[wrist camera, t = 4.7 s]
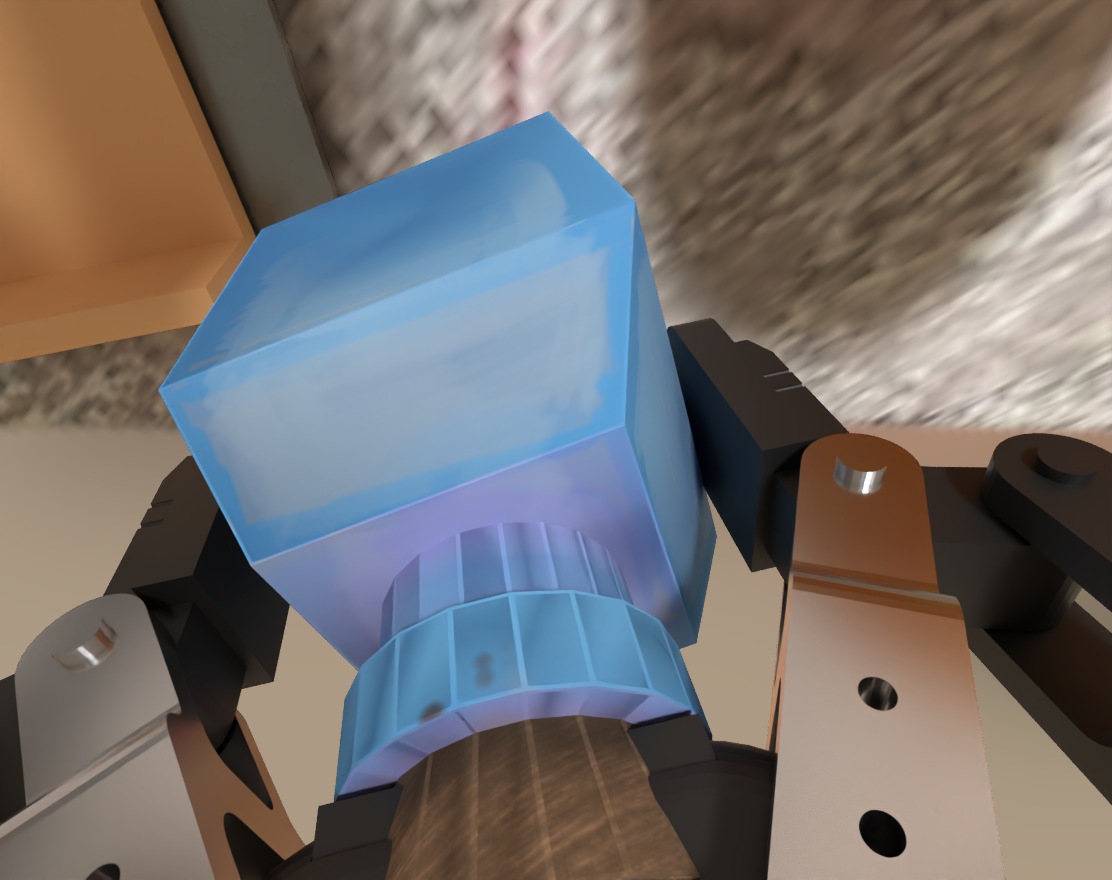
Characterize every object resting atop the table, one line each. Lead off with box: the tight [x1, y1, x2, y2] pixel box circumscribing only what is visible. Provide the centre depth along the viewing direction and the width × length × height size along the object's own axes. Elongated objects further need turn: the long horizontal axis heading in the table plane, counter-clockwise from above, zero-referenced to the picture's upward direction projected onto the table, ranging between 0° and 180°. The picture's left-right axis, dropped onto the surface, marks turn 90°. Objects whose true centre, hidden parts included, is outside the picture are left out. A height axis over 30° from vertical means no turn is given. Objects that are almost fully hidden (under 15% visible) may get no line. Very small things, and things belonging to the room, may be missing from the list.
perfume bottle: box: [158, 111, 717, 880], centre depth 9 cm, size 6×6×12 cm
